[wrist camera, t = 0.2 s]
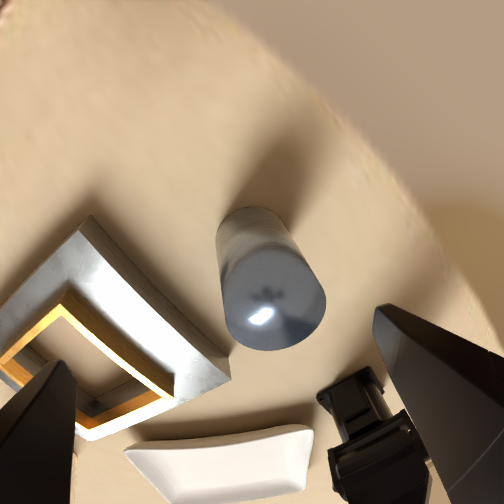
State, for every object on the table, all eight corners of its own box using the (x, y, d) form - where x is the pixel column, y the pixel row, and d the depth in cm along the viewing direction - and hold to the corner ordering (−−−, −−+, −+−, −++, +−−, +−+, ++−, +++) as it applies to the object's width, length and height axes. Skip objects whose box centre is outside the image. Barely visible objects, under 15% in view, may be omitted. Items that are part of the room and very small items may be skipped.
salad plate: (121, 427, 30) (118, 452, 27) (308, 405, 32) (316, 429, 29) (171, 490, 40) (172, 508, 37) (301, 473, 42) (306, 490, 39)
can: (298, 246, 23) (340, 317, 16) (241, 283, 23) (260, 364, 16) (262, 192, 20) (297, 248, 13) (201, 233, 21) (203, 307, 14)
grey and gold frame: (228, 358, 27) (233, 394, 23) (92, 423, 29) (87, 452, 26) (90, 215, 19) (70, 240, 16) (-22, 332, 22) (-38, 360, 18)
